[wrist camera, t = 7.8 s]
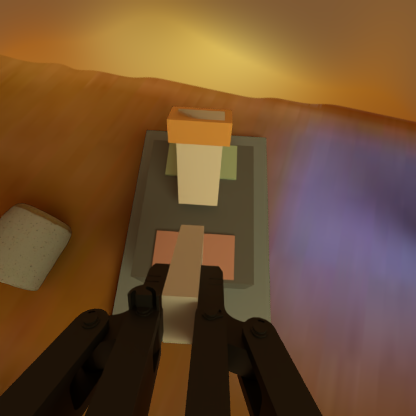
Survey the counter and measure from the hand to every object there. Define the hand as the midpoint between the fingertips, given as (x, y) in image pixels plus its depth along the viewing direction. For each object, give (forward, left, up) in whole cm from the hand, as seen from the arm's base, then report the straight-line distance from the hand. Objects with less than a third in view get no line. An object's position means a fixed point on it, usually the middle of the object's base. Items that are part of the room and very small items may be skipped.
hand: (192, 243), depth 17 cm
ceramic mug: (-19, -10, -17) cm, 27 cm away
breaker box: (-4, +5, -16) cm, 18 cm away
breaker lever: (-4, +5, -9) cm, 11 cm away
